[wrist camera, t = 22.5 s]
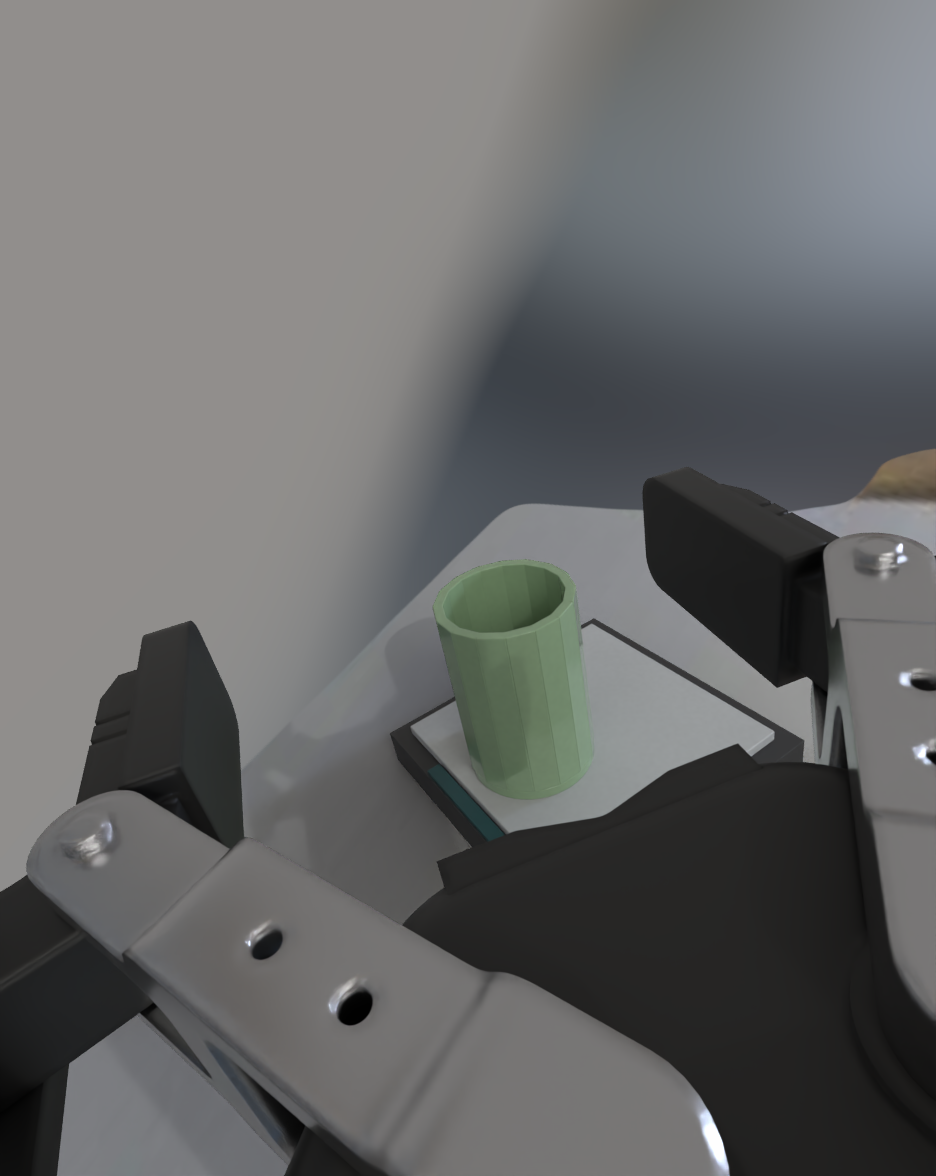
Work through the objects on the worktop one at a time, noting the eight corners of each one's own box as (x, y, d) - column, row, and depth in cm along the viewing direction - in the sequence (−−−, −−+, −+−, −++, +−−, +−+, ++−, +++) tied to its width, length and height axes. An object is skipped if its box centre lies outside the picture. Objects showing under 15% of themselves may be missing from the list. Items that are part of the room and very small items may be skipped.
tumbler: (518, 822, 34) (484, 658, 29) (449, 749, 39) (408, 599, 34) (621, 754, 37) (605, 592, 32) (542, 693, 42) (518, 546, 37)
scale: (565, 957, 31) (558, 919, 30) (398, 759, 43) (387, 725, 42) (802, 770, 37) (805, 731, 36) (596, 643, 49) (593, 610, 48)
